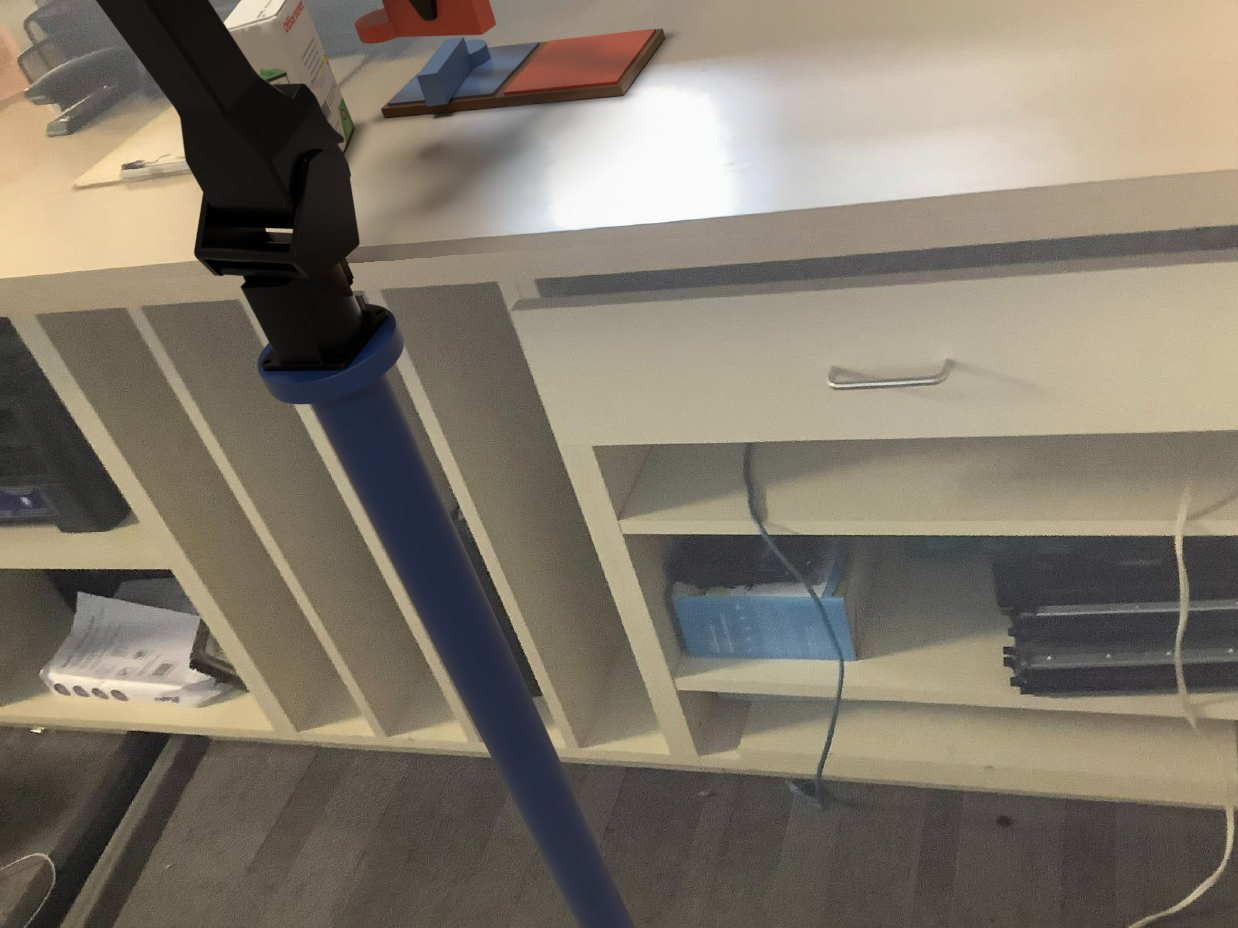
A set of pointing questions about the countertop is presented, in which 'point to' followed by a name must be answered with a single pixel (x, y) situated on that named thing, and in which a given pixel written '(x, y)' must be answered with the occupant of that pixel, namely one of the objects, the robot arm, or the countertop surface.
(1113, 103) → the countertop surface
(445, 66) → the blue rounded tab block
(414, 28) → the red stepped handle block
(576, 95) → the sorting board
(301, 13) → the ink box
